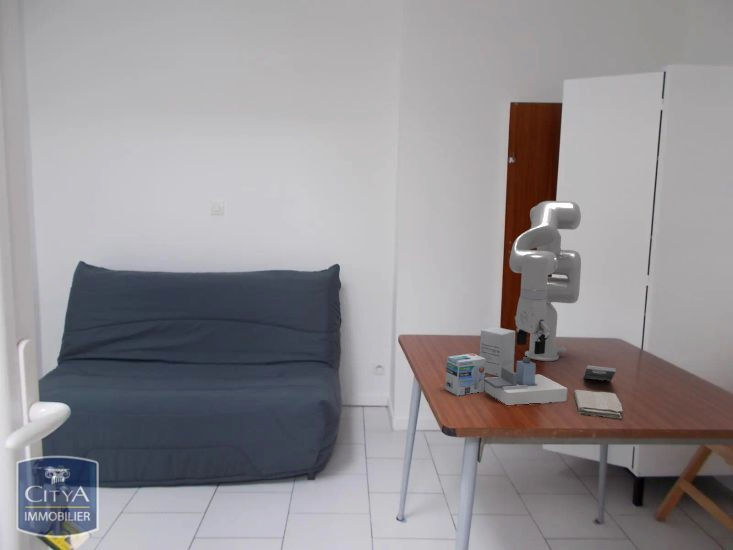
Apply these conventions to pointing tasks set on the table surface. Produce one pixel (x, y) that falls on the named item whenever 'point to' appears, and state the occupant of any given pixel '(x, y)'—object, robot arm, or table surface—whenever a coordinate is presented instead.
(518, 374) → the plug
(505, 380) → the block
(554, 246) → the robot arm
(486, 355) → the supplement box
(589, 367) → the light switch
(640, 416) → the table surface
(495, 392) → the socket block
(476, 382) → the light bulb box
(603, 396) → the washcloth
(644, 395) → the table surface
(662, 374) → the table surface
